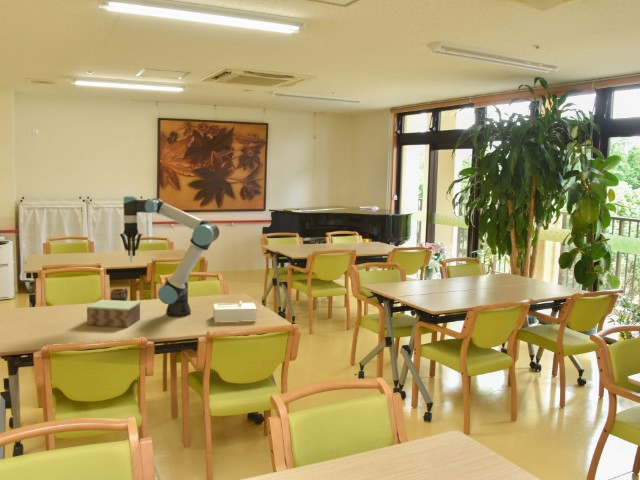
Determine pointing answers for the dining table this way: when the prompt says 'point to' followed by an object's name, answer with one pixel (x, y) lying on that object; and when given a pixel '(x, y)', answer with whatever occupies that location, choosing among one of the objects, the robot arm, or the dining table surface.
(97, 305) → the lid
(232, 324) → the dining table surface
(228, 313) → the tissue box
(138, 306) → the box
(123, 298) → the mug
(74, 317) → the dining table surface
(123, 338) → the dining table surface
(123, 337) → the dining table surface
